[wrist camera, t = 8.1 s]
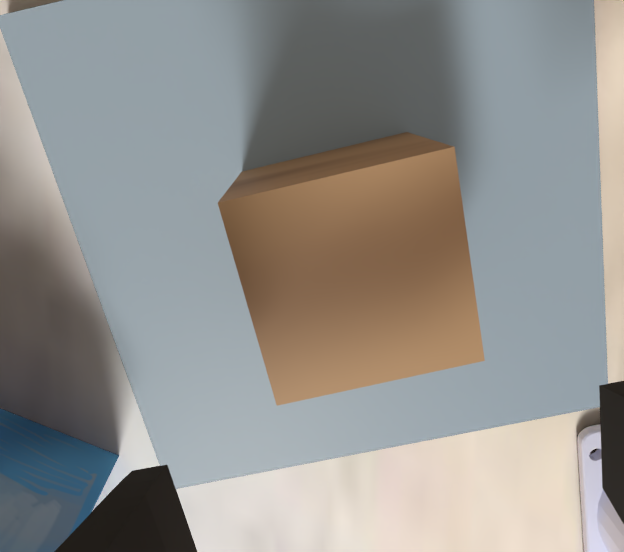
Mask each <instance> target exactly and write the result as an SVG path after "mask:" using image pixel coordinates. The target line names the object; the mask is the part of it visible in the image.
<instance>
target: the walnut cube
mask: <svg viewBox="0 0 624 552" xmlns="http://www.w3.org/2000/svg"><path fill="white" fill-rule="evenodd" d="M218 206H219V210H220V213H221V217H222V220H223V223H224V227H225V230H226V234H227V237H228V241H229V244H230V247H231V251H232V254H233V258H234V261H235V265H236V268H237V271H238V275H239V278H240V282H241V285H242V288H243V292H244V295H245V299H246V302H247V306H248V309H249V312H250V316H251V319H252V323H253V326H254V330H255V333H256V336H257V340H258V343H259V347H260V350H261V354H262V357H263V360H264V364H265V367H266V371H267V374H268V378H269V381H270V384H271V388H272V391H273V395H274V398H275V402H276V405H277V406H278V405H283V404H287V403H292V402H297V401H301V400H306V399H311V398H315V397H320V396H324V395H329V394H334V393H338V392H343V391H348V390H352V389H357V388H361V387H366V386H371V385H375V384H380V383H385V382H389V381H394V380H398V379H403V378H408V377H412V376H417V375H422V374H426V373H431V372H435V371H440V370H445V369H449V368H454V367H459V366H463V365H468V364H472V363H477V362H482V361H485V358H484V351H483V344H482V337H481V330H480V323H479V316H478V309H477V302H476V295H475V288H474V281H473V274H472V267H471V260H470V253H469V246H468V239H467V232H466V225H465V217H464V210H463V203H462V196H461V189H460V182H459V175H458V168H457V161H456V154H455V147H454V146H450V145H447V144H444V143H441V142H438V141H434V140H431V139H428V138H425V137H421V136H418V135H415V134H412V133H409V132H405V133H400V134H396V135H392V136H388V137H384V138H380V139H375V140H371V141H367V142H363V143H359V144H355V145H350V146H346V147H342V148H338V149H334V150H329V151H325V152H321V153H317V154H313V155H309V156H304V157H300V158H296V159H292V160H288V161H283V162H279V163H275V164H271V165H267V166H263V167H258V168H254V169H250V170H246V171H242V172H241V173H240V174H239V176H238V177H237V178H236V180H235V181H234V182H233V183H232V185H231V186H230V187H229V189H228V190H227V191H226V193H225V194H224V195H223V196H222V198H221V199H220V200H219V202H218Z"/></svg>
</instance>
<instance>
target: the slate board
mask: <svg viewBox="0 0 624 552" xmlns="http://www.w3.org/2000/svg"><path fill="white" fill-rule="evenodd" d="M0 29H1V31H2V34H3V37H4V40H5V42H6V45H7V48H8V51H9V53H10V56H11V59H12V61H13V64H14V67H15V70H16V72H17V75H18V78H19V81H20V83H21V86H22V89H23V92H24V94H25V97H26V100H27V103H28V105H29V108H30V111H31V114H32V116H33V119H34V122H35V124H36V127H37V130H38V133H39V135H40V138H41V141H42V144H43V146H44V149H45V152H46V155H47V157H48V160H49V163H50V166H51V168H52V171H53V174H54V177H55V179H56V182H57V185H58V188H59V190H60V193H61V196H62V198H63V201H64V204H65V207H66V209H67V212H68V215H69V218H70V220H71V223H72V226H73V229H74V231H75V234H76V237H77V240H78V242H79V245H80V248H81V251H82V253H83V256H84V259H85V261H86V264H87V267H88V270H89V272H90V275H91V278H92V281H93V283H94V286H95V289H96V292H97V294H98V297H99V300H100V303H101V305H102V308H103V311H104V314H105V316H106V319H107V322H108V324H109V327H110V330H111V333H112V335H113V338H114V341H115V344H116V346H117V349H118V352H119V355H120V357H121V360H122V363H123V366H124V368H125V371H126V374H127V377H128V379H129V382H130V385H131V387H132V390H133V393H134V396H135V398H136V401H137V404H138V407H139V409H140V412H141V415H142V418H143V420H144V423H145V426H146V429H147V431H148V434H149V437H150V440H151V442H152V445H153V448H154V450H155V453H156V456H157V459H158V461H159V464H160V466H162V465H168V468H169V471H170V474H171V477H172V480H173V483H174V486H175V489H178V488H183V487H188V486H193V485H199V484H204V483H209V482H214V481H219V480H224V479H230V478H235V477H240V476H245V475H250V474H256V473H261V472H266V471H271V470H276V469H281V468H287V467H292V466H297V465H302V464H307V463H313V462H318V461H323V460H328V459H333V458H338V457H344V456H349V455H354V454H359V453H364V452H370V451H375V450H380V449H385V448H390V447H395V446H401V445H406V444H411V443H416V442H421V441H427V440H432V439H437V438H442V437H447V436H452V435H458V434H463V433H468V432H473V431H478V430H484V429H489V428H494V427H499V426H504V425H509V424H515V423H520V422H525V421H530V420H535V419H541V418H546V417H551V416H556V415H561V414H566V413H572V412H577V411H582V410H587V409H592V408H597V407H600V393H599V385H605V384H608V376H607V348H606V321H605V293H604V266H603V238H602V211H601V183H600V156H599V128H598V101H597V73H596V46H595V19H594V0H63V1H59V2H54V3H50V4H46V5H42V6H37V7H33V8H29V9H25V10H21V11H16V12H12V13H8V14H4V15H0ZM405 132H409V133H412V134H415V135H418V136H421V137H425V138H428V139H431V140H434V141H438V142H441V143H444V144H447V145H450V146H454V147H455V154H456V161H457V168H458V175H459V182H460V189H461V196H462V203H463V210H464V217H465V225H466V232H467V239H468V246H469V253H470V260H471V267H472V274H473V281H474V288H475V295H476V302H477V309H478V316H479V323H480V330H481V337H482V344H483V351H484V358H485V361H482V362H477V363H472V364H468V365H463V366H459V367H454V368H449V369H445V370H440V371H435V372H431V373H426V374H422V375H417V376H412V377H408V378H403V379H398V380H394V381H389V382H385V383H380V384H375V385H371V386H366V387H361V388H357V389H352V390H348V391H343V392H338V393H334V394H329V395H324V396H320V397H315V398H311V399H306V400H301V401H297V402H292V403H287V404H283V405H278V406H277V405H276V402H275V398H274V395H273V391H272V388H271V384H270V381H269V378H268V374H267V371H266V367H265V364H264V360H263V357H262V354H261V350H260V347H259V343H258V340H257V336H256V333H255V330H254V326H253V323H252V319H251V316H250V312H249V309H248V306H247V302H246V299H245V295H244V292H243V288H242V285H241V282H240V278H239V275H238V271H237V268H236V265H235V261H234V258H233V254H232V251H231V247H230V244H229V241H228V237H227V234H226V230H225V227H224V223H223V220H222V217H221V213H220V210H219V206H218V202H219V200H220V199H221V198H222V196H223V195H224V194H225V193H226V191H227V190H228V189H229V187H230V186H231V185H232V183H233V182H234V181H235V180H236V178H237V177H238V176H239V174H240V173H241V172H242V171H246V170H250V169H254V168H258V167H263V166H267V165H271V164H275V163H279V162H283V161H288V160H292V159H296V158H300V157H304V156H309V155H313V154H317V153H321V152H325V151H329V150H334V149H338V148H342V147H346V146H350V145H355V144H359V143H363V142H367V141H371V140H375V139H380V138H384V137H388V136H392V135H396V134H400V133H405Z"/></svg>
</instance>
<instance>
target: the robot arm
mask: <svg viewBox="0 0 624 552" xmlns="http://www.w3.org/2000/svg"><path fill="white" fill-rule="evenodd" d="M599 393H600V424H599V425H593V426H589V427H586V428H584V429H583V430H582V431H581V432H580V433H579V435H578V439H577V443H578V460H579V476H580V493H581V510H582V527H583V543H584V552H624V381H621V382H615V383H610V384H605V385H599ZM594 449H597V450H596V451H595V452H594V453H592V454H590V452H591V451H592V450H594ZM54 552H197V550H196V547H195V544H194V541H193V538H192V535H191V532H190V529H189V526H188V524H187V521H186V518H185V515H184V512H183V509H182V506H181V503H180V500H179V497H178V494H177V491H176V489H175V486H174V483H173V480H172V477H171V474H170V471H169V468H168V465H162V466H156V467H151V468H145V469H140V470H135V471H132V472H131V473H130V474H128V475H127V476H126V477H125V478H124V479H123V480H122V481H121V482H120V483H119V484H118V485H117V486H116V487H115V488H114V489H113V490H112V491H111V492H110V493H109V494H108V495H107V496H106V498H105V499H104V500H103V501H102V502H101V503H100V504H99V505H98V506H97V507H96V508H95V509H94V510H93V511H92V512H91V513H90V514H89V516H88V517H87V518H86V519H85V520H84V521H83V522H82V523H81V524H80V525H79V526H78V527H77V528H76V529H75V530H74V531H73V533H72V534H71V535H70V536H69V537H68V538H67V539H66V540H65V541H64V542H63V543H62V544H61V545H60V546H59V547H58V548H57V549H56V550H55V551H54Z"/></svg>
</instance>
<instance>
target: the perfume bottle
mask: <svg viewBox="0 0 624 552" xmlns="http://www.w3.org/2000/svg"><path fill="white" fill-rule="evenodd" d="M118 457H119V455H116V454H114V453H111V452H109V451H106V450H103V449H101V448H98V447H96V446H93V445H91V444H88V443H86V442H83V441H81V440H78V439H76V438H73V437H71V436H68V435H66V434H63V433H61V432H58V431H56V430H53V429H51V428H48V427H46V426H43V425H41V424H38V423H36V422H33V421H31V420H28V419H26V418H23V417H21V416H18V415H16V414H13V413H11V412H8V411H6V410H3V409H1V408H0V552H54V551H55V550H56V549H57V548H58V547H59V546H60V545H61V544H62V543H63V542H64V541H65V540H66V539H67V538H68V537H69V536H70V535H71V534H72V533H73V531H74V530H75V529H76V528H77V527H78V526H79V525H80V524H81V523H82V522H83V521H84V520H85V519H86V518H87V517H88V516H89V514H90V513H91V512H92V510H93V508H94V506H95V504H96V502H97V500H98V498H99V496H100V494H101V492H102V490H103V488H104V485H105V483H106V481H107V479H108V477H109V475H110V473H111V471H112V469H113V467H114V465H115V463H116V461H117V459H118Z"/></svg>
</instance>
